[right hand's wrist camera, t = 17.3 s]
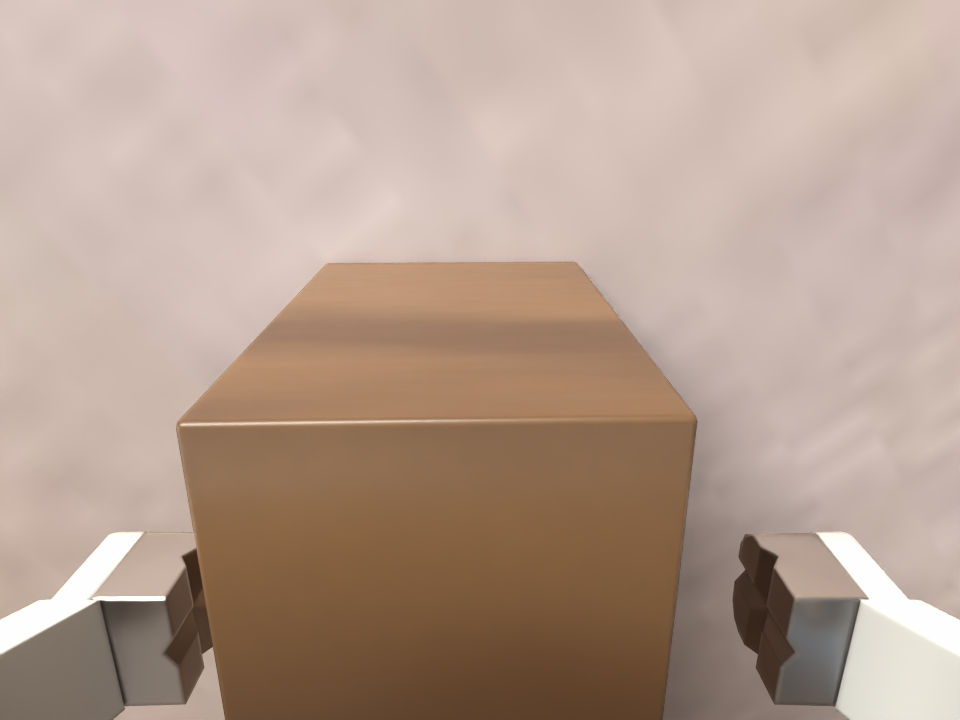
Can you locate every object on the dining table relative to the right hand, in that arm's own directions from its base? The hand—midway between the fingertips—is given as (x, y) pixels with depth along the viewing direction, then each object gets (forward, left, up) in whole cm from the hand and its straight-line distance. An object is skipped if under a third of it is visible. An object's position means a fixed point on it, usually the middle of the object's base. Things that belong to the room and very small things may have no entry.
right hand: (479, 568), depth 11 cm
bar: (+6, +5, -6) cm, 9 cm away
